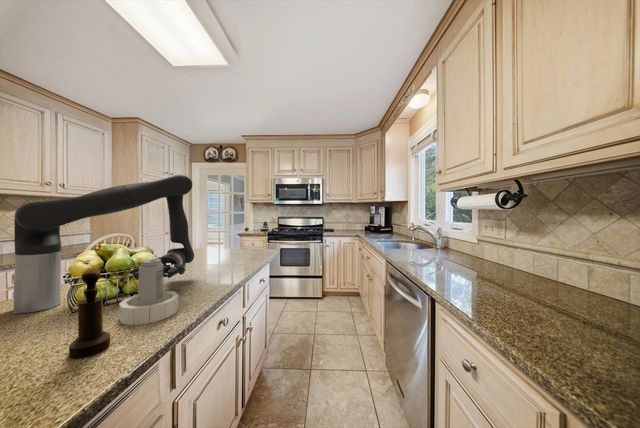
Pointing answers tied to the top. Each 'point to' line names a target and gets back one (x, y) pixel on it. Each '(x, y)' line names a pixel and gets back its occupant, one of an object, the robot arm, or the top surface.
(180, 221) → the robot arm
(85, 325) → the dark brown wooden stand
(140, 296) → the energy drink can
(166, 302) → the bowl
